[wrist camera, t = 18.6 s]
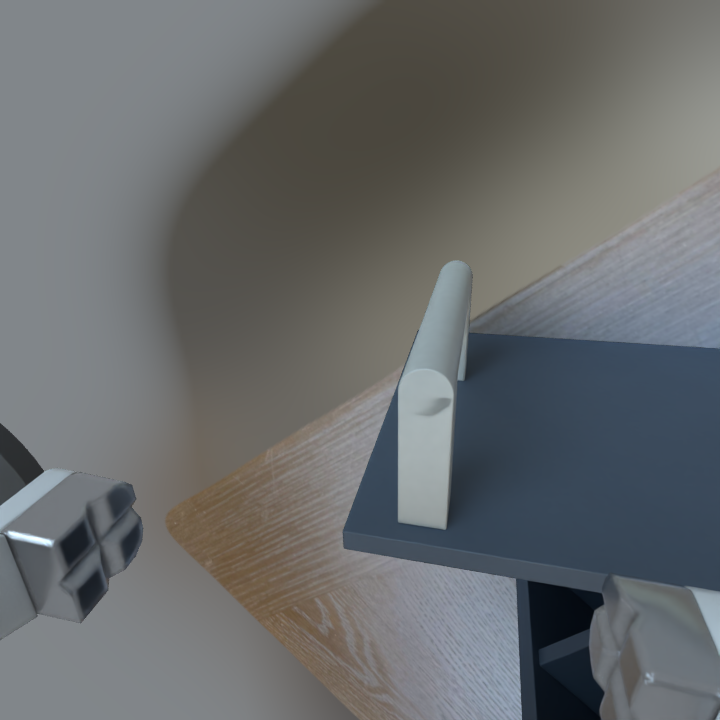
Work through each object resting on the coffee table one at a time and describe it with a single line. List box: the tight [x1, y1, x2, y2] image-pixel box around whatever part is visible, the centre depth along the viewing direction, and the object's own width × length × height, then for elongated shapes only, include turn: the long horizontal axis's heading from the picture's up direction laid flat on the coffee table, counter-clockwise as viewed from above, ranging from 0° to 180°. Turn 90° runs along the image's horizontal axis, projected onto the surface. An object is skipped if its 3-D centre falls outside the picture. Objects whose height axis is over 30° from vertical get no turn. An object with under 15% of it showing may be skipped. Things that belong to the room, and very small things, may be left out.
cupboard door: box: [343, 261, 720, 593], centre depth 20 cm, size 7×22×18 cm, turn 92°
